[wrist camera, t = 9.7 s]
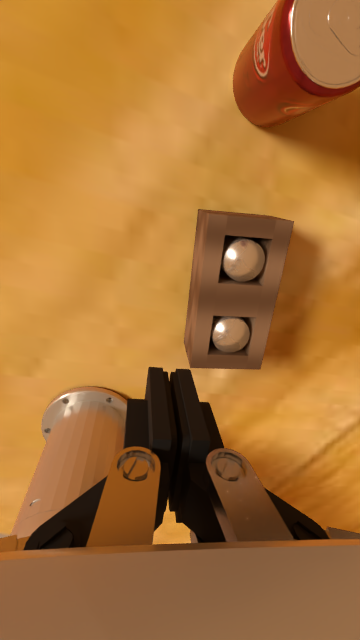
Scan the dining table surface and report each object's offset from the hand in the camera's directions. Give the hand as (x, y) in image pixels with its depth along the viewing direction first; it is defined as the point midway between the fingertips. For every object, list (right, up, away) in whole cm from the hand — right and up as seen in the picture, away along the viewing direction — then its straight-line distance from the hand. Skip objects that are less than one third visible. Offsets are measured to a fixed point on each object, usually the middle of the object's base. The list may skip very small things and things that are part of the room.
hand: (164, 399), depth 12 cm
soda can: (+9, +26, +16) cm, 32 cm away
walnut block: (+6, +8, +24) cm, 26 cm away
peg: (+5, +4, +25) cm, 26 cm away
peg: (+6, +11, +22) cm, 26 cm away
